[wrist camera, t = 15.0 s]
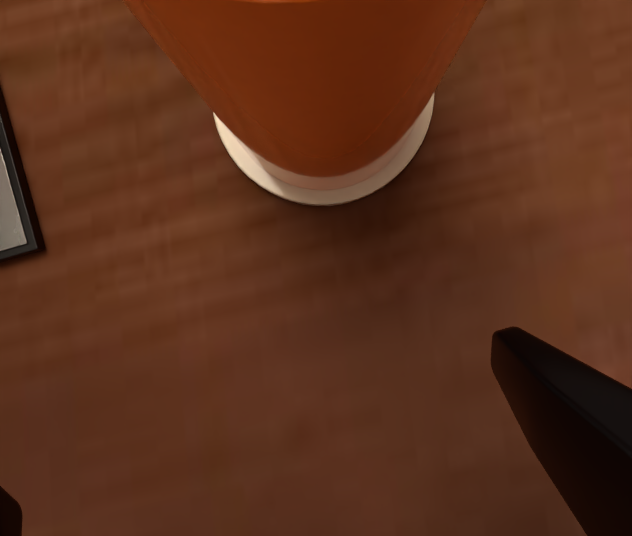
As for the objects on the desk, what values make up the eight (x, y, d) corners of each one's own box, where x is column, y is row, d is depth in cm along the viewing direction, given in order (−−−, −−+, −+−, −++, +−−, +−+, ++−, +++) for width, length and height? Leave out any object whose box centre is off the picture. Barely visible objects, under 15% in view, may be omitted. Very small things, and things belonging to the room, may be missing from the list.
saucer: (474, 67, 18) (479, 60, 18) (350, 248, 18) (351, 248, 18) (294, -53, 18) (292, -64, 18) (174, 127, 19) (168, 123, 18)
